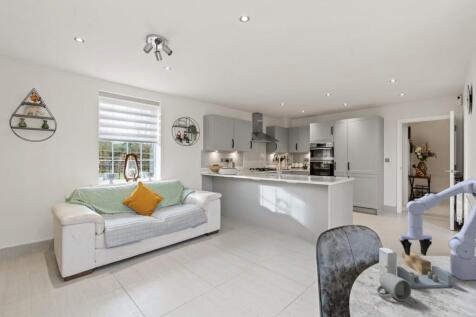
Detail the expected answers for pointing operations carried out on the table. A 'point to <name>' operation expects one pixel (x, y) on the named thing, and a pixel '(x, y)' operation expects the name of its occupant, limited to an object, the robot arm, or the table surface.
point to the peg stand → (426, 278)
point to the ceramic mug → (394, 287)
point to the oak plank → (417, 263)
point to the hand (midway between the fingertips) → (415, 254)
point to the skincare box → (387, 261)
